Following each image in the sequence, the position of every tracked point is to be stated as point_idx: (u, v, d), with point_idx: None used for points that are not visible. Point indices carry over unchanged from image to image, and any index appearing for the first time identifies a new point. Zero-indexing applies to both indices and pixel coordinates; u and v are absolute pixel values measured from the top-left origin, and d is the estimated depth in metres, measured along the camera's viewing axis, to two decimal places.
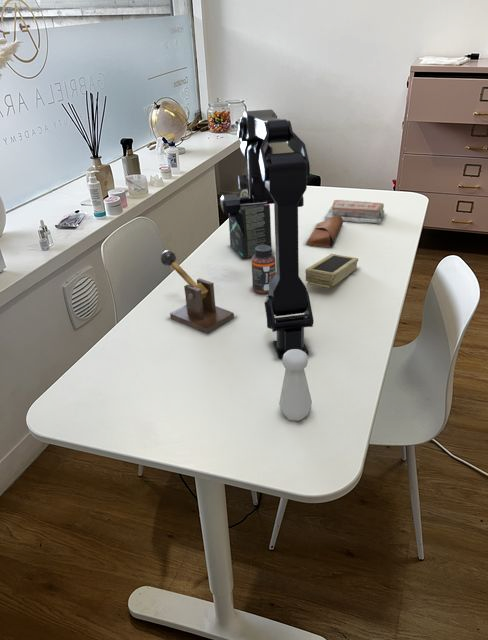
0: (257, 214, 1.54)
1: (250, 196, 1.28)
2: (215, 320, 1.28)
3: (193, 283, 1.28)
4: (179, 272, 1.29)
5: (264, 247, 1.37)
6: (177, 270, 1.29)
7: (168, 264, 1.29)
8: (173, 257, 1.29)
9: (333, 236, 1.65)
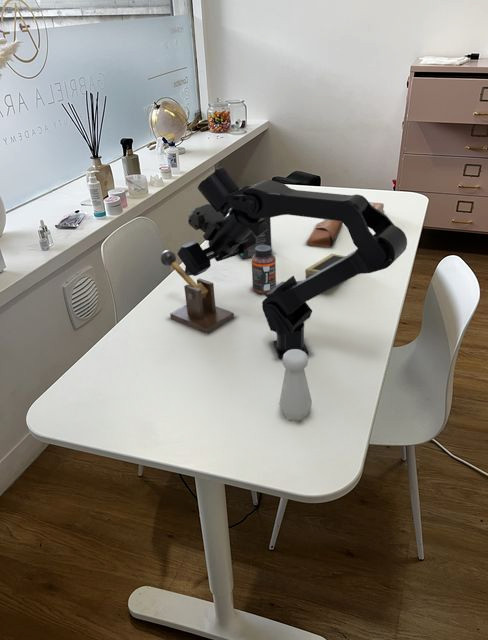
0: None
1: (215, 249, 1.15)
2: (215, 320, 1.28)
3: (193, 283, 1.28)
4: (179, 272, 1.29)
5: (264, 247, 1.37)
6: (177, 270, 1.29)
7: (168, 264, 1.29)
8: (173, 257, 1.29)
9: (333, 236, 1.65)
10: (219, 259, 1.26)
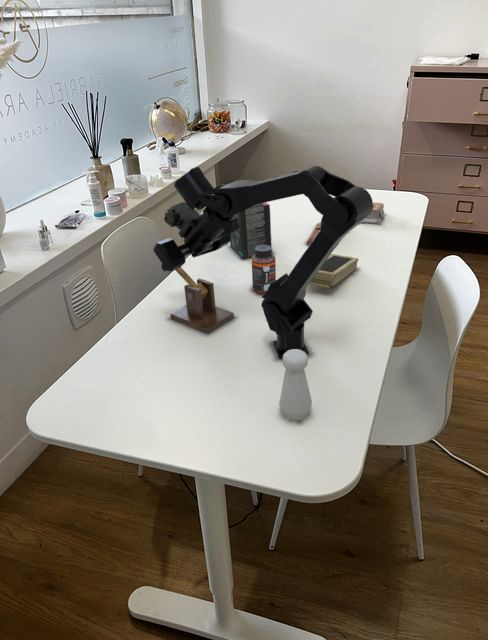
0: (257, 214, 1.54)
1: (190, 246, 1.19)
2: (215, 320, 1.28)
3: (193, 283, 1.28)
4: (179, 272, 1.29)
5: (264, 247, 1.37)
6: (177, 270, 1.29)
7: None
8: None
9: None
10: (195, 255, 1.30)
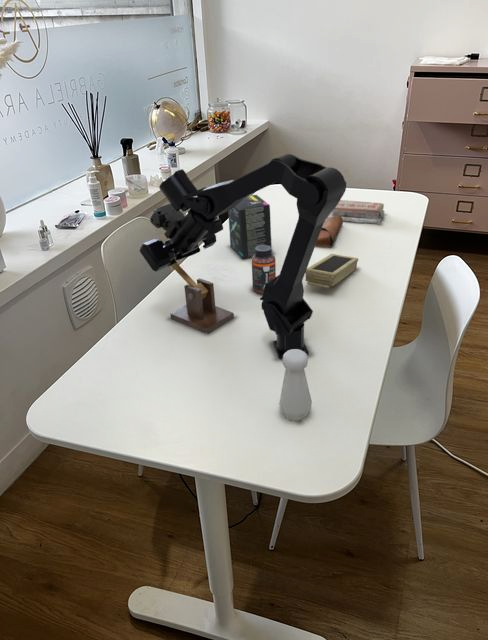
0: (257, 214, 1.54)
1: (175, 247, 1.22)
2: (215, 320, 1.28)
3: (193, 283, 1.28)
4: (179, 272, 1.29)
5: (264, 247, 1.37)
6: (177, 270, 1.29)
7: None
8: None
9: (333, 236, 1.65)
10: None
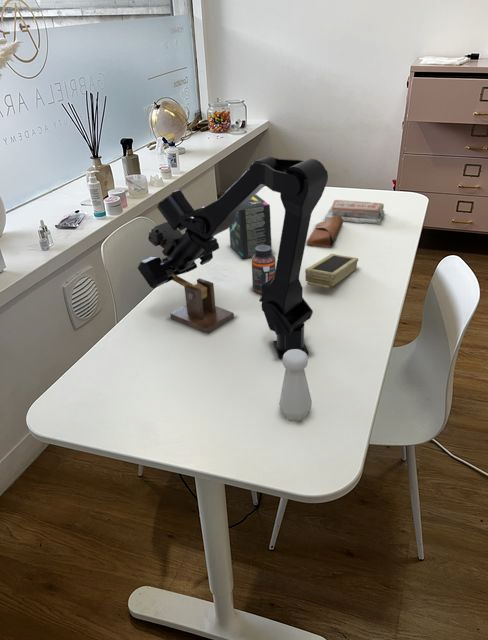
0: (257, 214, 1.54)
1: (173, 264, 1.25)
2: (215, 320, 1.28)
3: None
4: (177, 281, 1.31)
5: (264, 247, 1.37)
6: (175, 280, 1.31)
7: None
8: None
9: (333, 236, 1.65)
10: None
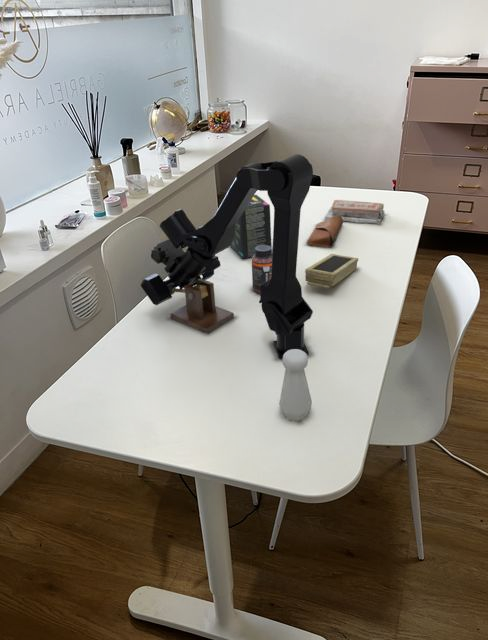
0: (257, 214, 1.54)
1: (175, 281, 1.28)
2: (215, 320, 1.28)
3: None
4: (179, 290, 1.32)
5: (264, 247, 1.37)
6: (177, 289, 1.32)
7: None
8: None
9: (333, 236, 1.65)
10: None
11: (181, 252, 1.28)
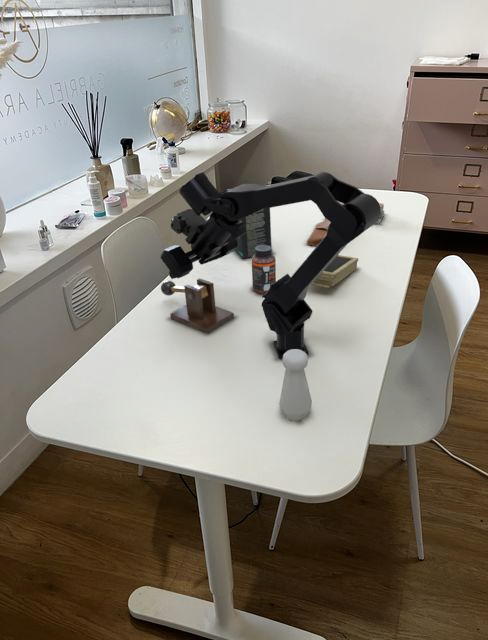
0: (257, 214, 1.54)
1: (197, 252, 1.18)
2: (215, 320, 1.28)
3: None
4: (179, 290, 1.32)
5: (264, 247, 1.37)
6: (177, 289, 1.32)
7: (168, 290, 1.34)
8: (170, 282, 1.34)
9: None
10: (203, 262, 1.30)
11: (203, 221, 1.19)
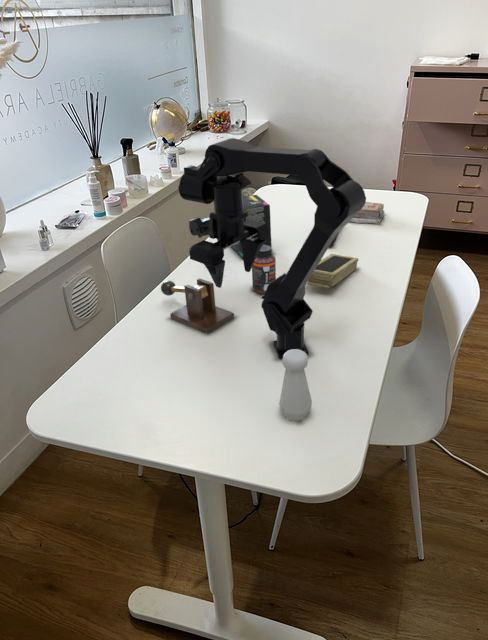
0: (257, 214, 1.54)
1: (223, 239, 1.12)
2: (215, 320, 1.28)
3: None
4: (179, 290, 1.32)
5: (264, 247, 1.37)
6: (177, 289, 1.32)
7: (168, 290, 1.34)
8: (170, 282, 1.34)
9: None
10: (248, 267, 1.21)
11: None
